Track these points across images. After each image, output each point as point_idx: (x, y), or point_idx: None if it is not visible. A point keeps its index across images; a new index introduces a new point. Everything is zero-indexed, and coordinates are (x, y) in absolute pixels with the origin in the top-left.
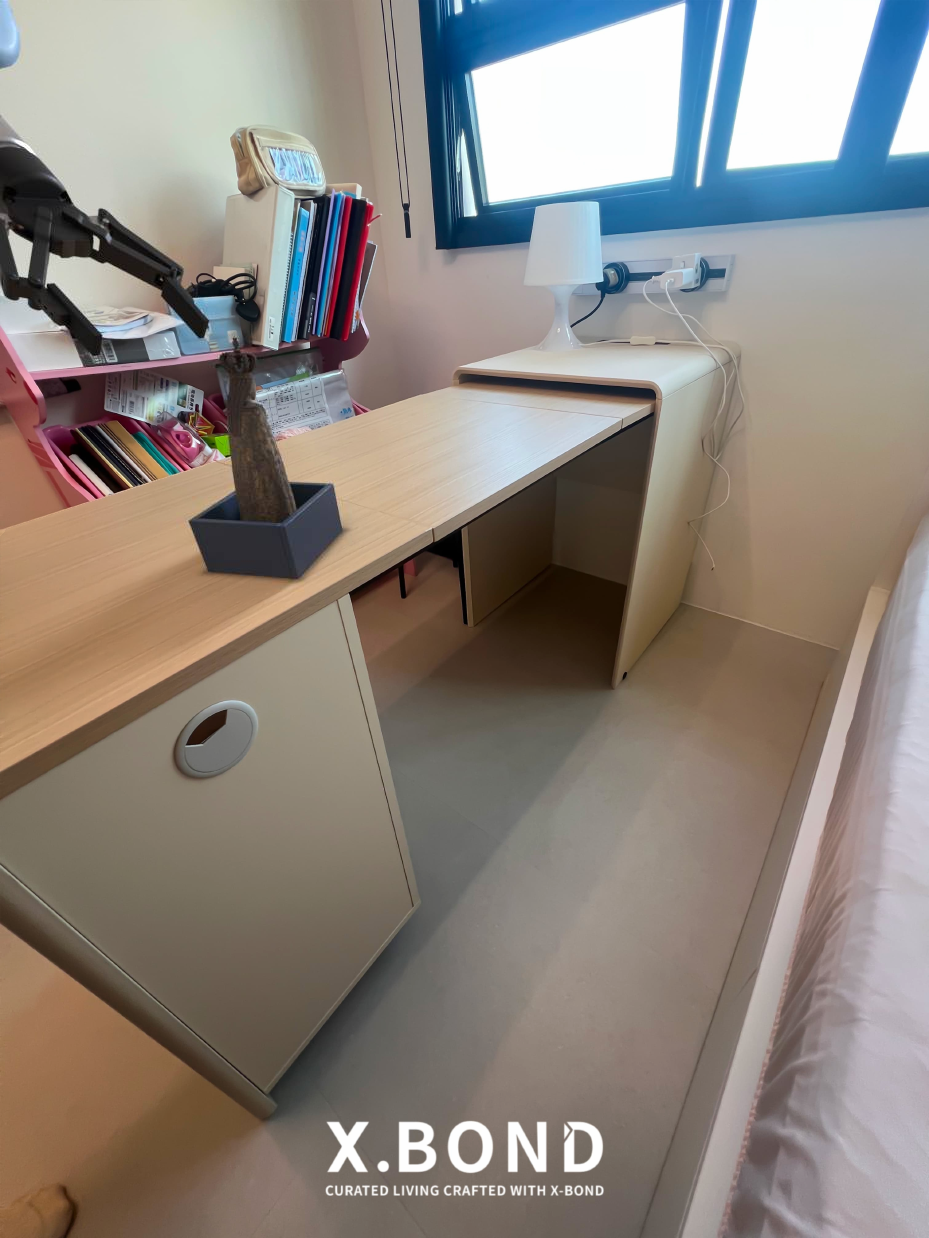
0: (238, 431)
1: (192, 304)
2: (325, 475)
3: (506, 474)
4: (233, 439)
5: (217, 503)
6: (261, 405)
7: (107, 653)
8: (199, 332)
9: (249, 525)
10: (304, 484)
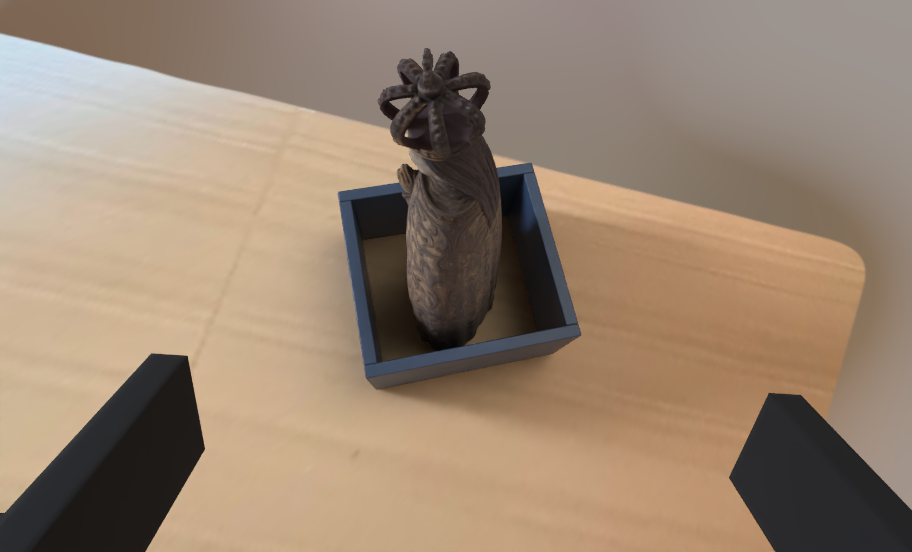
0: (499, 189)
1: (92, 441)
2: (53, 458)
3: (22, 69)
4: (496, 220)
5: (499, 345)
6: (405, 165)
7: (747, 315)
8: (196, 429)
9: (547, 220)
10: (357, 243)
